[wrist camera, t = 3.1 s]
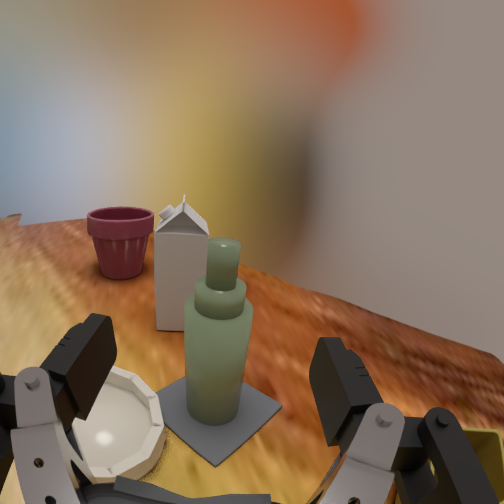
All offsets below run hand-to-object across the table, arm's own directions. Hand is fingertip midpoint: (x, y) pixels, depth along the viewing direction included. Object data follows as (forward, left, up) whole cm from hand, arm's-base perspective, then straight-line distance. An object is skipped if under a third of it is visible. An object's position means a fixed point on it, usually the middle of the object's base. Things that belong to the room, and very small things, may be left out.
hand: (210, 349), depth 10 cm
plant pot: (+19, +45, -18) cm, 52 cm away
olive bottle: (+9, +7, -18) cm, 21 cm away
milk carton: (+18, +23, -18) cm, 35 cm away
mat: (+9, +7, -18) cm, 21 cm away
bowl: (-3, +12, -18) cm, 22 cm away
